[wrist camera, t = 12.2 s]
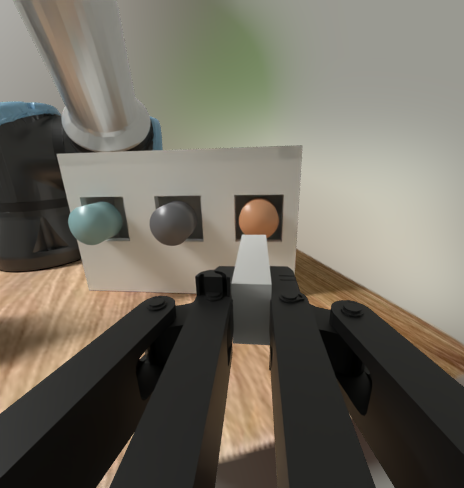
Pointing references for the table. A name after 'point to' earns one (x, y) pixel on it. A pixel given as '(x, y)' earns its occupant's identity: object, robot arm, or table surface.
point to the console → (191, 192)
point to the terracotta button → (258, 217)
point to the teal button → (95, 222)
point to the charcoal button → (173, 223)
